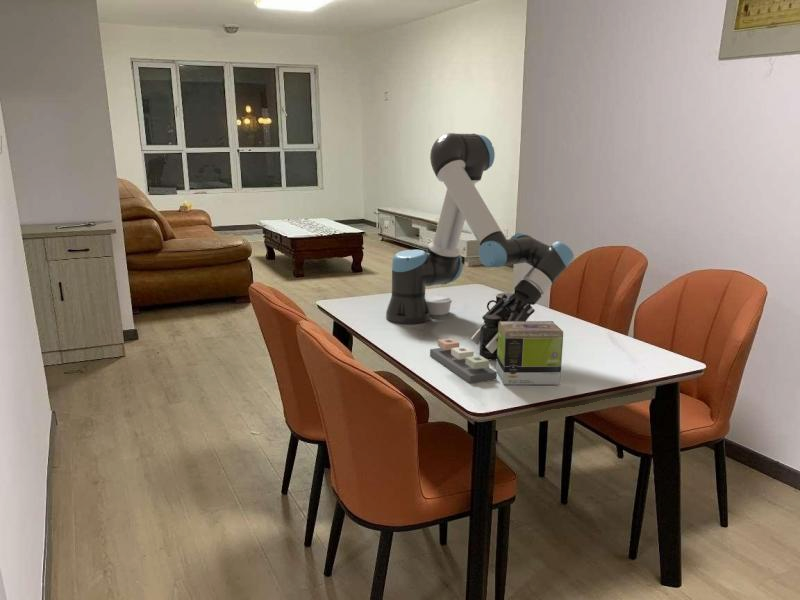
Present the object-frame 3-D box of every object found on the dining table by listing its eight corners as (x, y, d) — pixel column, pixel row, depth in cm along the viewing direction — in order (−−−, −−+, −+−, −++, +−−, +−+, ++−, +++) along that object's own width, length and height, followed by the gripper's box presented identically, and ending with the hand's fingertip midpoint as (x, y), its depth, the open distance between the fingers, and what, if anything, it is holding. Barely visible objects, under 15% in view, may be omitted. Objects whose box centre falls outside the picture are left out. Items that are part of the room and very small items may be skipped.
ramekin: (446, 318, 224) (447, 303, 222) (416, 314, 227) (417, 300, 226) (454, 310, 234) (454, 296, 233) (425, 307, 237) (425, 293, 236)
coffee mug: (518, 321, 221) (520, 293, 219) (520, 328, 213) (522, 299, 211) (485, 319, 222) (486, 291, 220) (485, 326, 214) (487, 297, 212)
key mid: (450, 354, 175) (451, 347, 175) (465, 352, 177) (465, 346, 176) (458, 359, 171) (459, 352, 171) (473, 357, 173) (473, 351, 173)
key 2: (465, 363, 168) (465, 356, 168) (479, 361, 170) (480, 355, 169) (473, 369, 164) (474, 362, 164) (488, 367, 166) (489, 360, 165)
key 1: (437, 345, 182) (437, 339, 182) (451, 344, 184) (451, 337, 184) (445, 350, 178) (445, 344, 178) (459, 348, 180) (459, 342, 180)
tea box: (549, 372, 173) (554, 320, 169) (560, 386, 163) (565, 331, 159) (495, 371, 172) (498, 319, 168) (502, 385, 162) (505, 330, 159)
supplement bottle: (484, 351, 189) (486, 312, 186) (506, 355, 185) (508, 315, 183) (475, 357, 183) (477, 317, 180) (497, 361, 180) (499, 321, 177)
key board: (429, 355, 183) (430, 349, 183) (454, 352, 187) (454, 346, 186) (469, 383, 163) (470, 376, 163) (496, 379, 166) (496, 372, 166)
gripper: (560, 303, 177) (508, 365, 175) (519, 287, 195) (470, 343, 193) (546, 286, 174) (492, 348, 171) (505, 271, 192) (456, 328, 189)
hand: (481, 345), depth 182 cm, fingers open, 8 cm apart
